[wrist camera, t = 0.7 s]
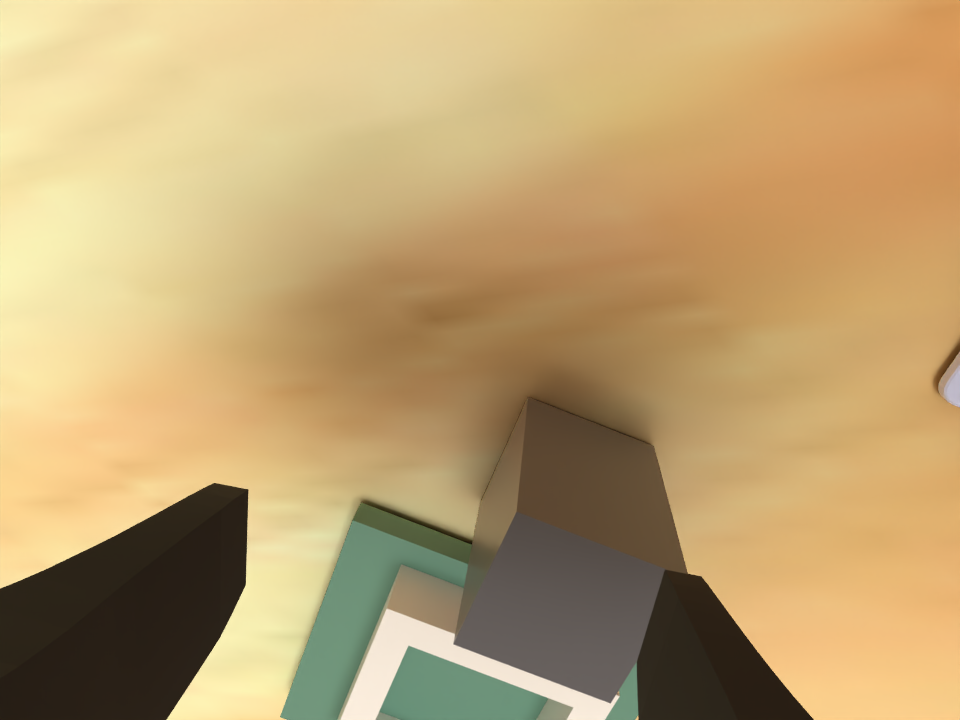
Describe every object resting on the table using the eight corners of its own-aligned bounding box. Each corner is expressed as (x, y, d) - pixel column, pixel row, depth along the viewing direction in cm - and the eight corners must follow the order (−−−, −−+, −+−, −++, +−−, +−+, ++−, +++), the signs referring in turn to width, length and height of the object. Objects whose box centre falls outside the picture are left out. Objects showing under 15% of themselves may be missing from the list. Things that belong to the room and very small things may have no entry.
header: (614, 645, 22) (619, 696, 20) (528, 789, 25) (525, 846, 23) (401, 564, 22) (386, 608, 20) (337, 718, 24) (319, 770, 23)
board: (677, 623, 23) (683, 646, 22) (567, 797, 26) (567, 823, 25) (361, 502, 22) (352, 520, 21) (290, 694, 26) (280, 717, 25)
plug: (653, 446, 21) (688, 578, 15) (576, 586, 23) (582, 747, 17) (528, 396, 20) (516, 511, 15) (462, 542, 23) (430, 690, 17)
